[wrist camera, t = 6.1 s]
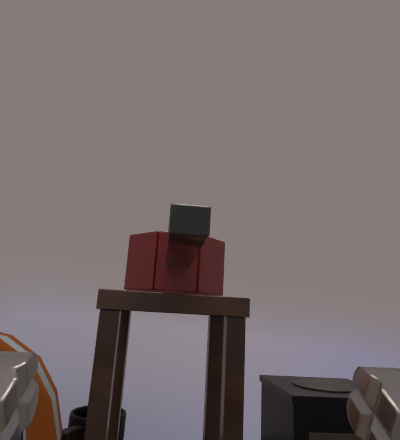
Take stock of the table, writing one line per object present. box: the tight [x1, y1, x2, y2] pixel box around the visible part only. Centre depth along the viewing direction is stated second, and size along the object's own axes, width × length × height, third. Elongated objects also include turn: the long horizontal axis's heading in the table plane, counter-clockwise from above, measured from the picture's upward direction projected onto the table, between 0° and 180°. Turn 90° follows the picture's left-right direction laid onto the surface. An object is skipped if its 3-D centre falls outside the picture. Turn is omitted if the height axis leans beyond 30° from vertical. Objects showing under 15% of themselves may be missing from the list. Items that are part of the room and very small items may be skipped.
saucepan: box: [124, 204, 225, 296], centre depth 28 cm, size 9×22×5 cm, turn 6°
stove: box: [260, 375, 362, 440], centre depth 56 cm, size 17×17×15 cm
